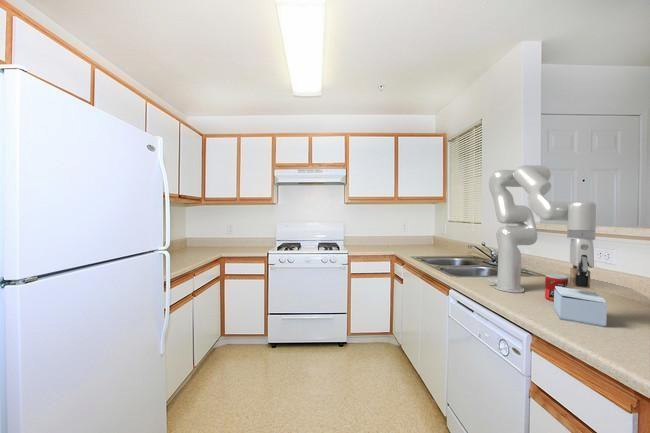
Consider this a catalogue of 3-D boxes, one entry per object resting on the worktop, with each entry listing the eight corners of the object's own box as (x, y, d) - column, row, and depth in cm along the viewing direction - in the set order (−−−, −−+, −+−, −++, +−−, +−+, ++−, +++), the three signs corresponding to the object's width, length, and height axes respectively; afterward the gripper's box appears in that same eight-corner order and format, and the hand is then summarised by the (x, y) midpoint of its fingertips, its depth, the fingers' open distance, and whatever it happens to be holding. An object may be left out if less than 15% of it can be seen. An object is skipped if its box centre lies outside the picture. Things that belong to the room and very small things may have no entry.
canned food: (549, 301, 117) (550, 276, 117) (541, 296, 125) (542, 272, 124) (571, 304, 115) (572, 278, 114) (562, 298, 122) (563, 274, 122)
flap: (561, 295, 98) (561, 293, 98) (555, 287, 108) (555, 285, 108) (605, 303, 92) (606, 300, 92) (595, 294, 102) (595, 292, 102)
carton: (559, 319, 98) (560, 297, 98) (553, 309, 109) (554, 289, 108) (606, 327, 92) (607, 303, 92) (594, 315, 102) (595, 294, 102)
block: (572, 286, 99) (573, 269, 99) (569, 283, 103) (570, 267, 103) (589, 288, 97) (590, 271, 97) (585, 285, 100) (586, 269, 100)
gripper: (603, 237, 90) (601, 292, 91) (587, 234, 105) (586, 281, 105) (573, 236, 94) (571, 288, 95) (562, 233, 109) (561, 278, 109)
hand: (579, 284), depth 100 cm, fingers closed on block, 4 cm apart
